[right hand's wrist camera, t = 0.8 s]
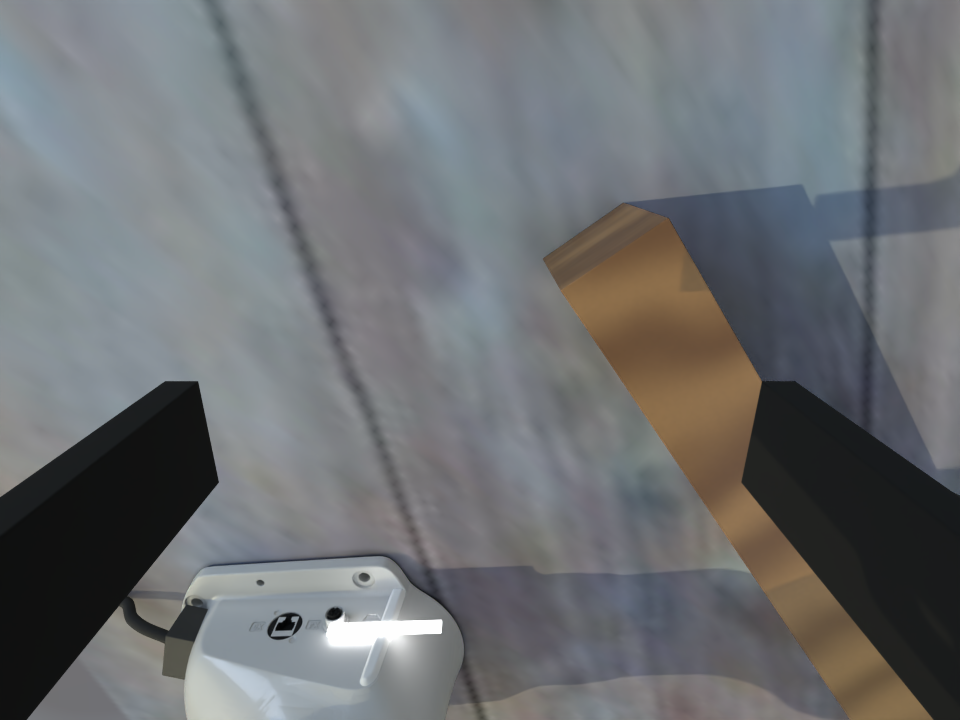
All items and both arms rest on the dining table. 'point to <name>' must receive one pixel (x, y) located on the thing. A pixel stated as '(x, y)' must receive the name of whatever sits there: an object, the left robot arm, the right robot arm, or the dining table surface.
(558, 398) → the dining table surface
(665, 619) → the dining table surface
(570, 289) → the bar
